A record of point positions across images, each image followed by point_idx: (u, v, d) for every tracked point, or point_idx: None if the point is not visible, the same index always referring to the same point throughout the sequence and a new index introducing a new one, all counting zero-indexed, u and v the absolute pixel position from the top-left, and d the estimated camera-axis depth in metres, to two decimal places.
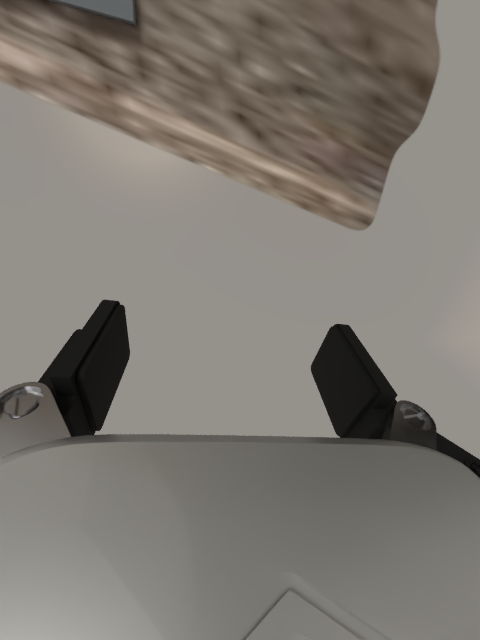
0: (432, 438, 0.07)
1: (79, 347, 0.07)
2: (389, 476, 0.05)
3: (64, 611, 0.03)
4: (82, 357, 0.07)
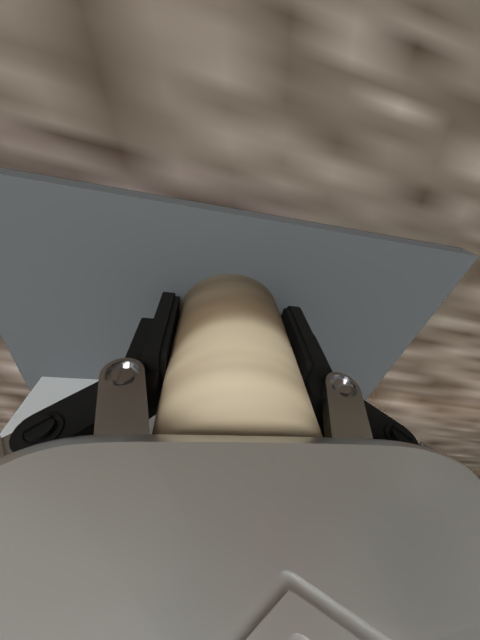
0: (360, 401, 0.08)
1: (157, 330, 0.08)
2: (389, 476, 0.05)
3: (64, 611, 0.03)
4: (162, 338, 0.08)
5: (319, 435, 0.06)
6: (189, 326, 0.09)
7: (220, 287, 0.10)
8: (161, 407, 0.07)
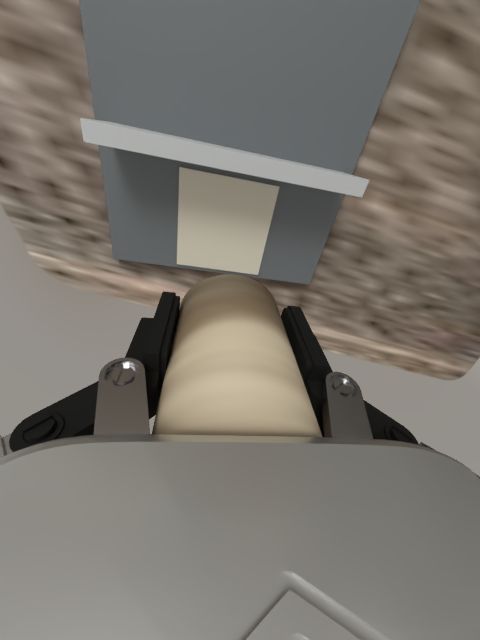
0: (360, 401, 0.08)
1: (157, 330, 0.08)
2: (389, 476, 0.05)
3: (64, 611, 0.03)
4: (162, 338, 0.08)
5: (319, 436, 0.06)
6: (189, 327, 0.09)
7: (220, 288, 0.10)
8: (161, 408, 0.07)
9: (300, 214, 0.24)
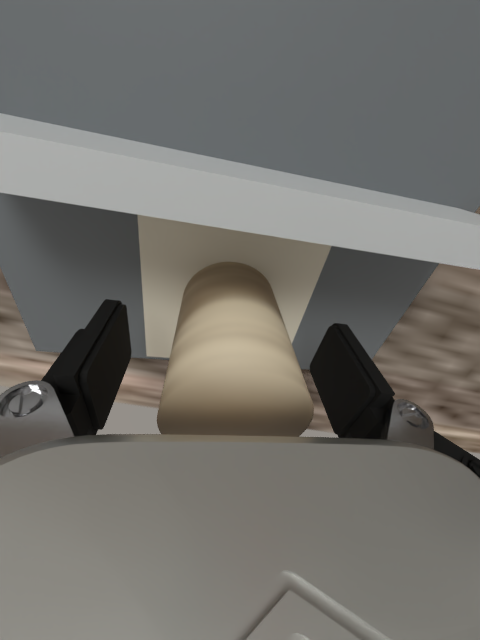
0: (429, 436, 0.07)
1: (82, 346, 0.07)
2: (389, 476, 0.05)
3: (64, 611, 0.03)
4: (85, 356, 0.07)
5: (306, 392, 0.07)
6: (193, 305, 0.10)
7: (221, 273, 0.11)
8: (170, 371, 0.08)
9: (364, 279, 0.14)
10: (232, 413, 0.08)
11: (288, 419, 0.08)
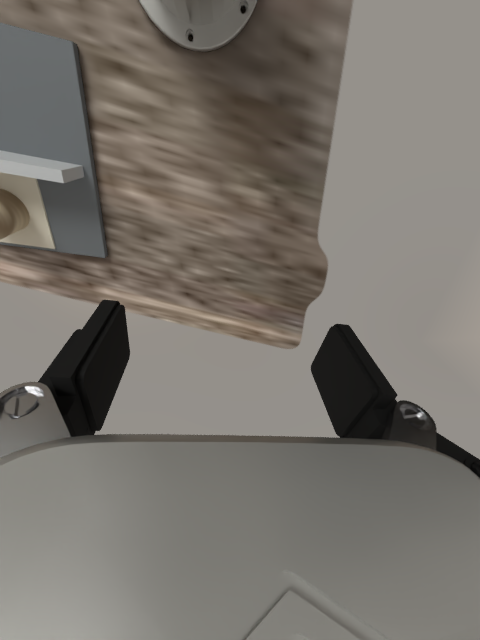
0: (432, 438, 0.07)
1: (79, 347, 0.07)
2: (389, 476, 0.05)
3: (64, 612, 0.03)
4: (82, 357, 0.07)
5: None
6: None
7: None
8: None
9: (66, 199, 0.31)
10: None
11: None
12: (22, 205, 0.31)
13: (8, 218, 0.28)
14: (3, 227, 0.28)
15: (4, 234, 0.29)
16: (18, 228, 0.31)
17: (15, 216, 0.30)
